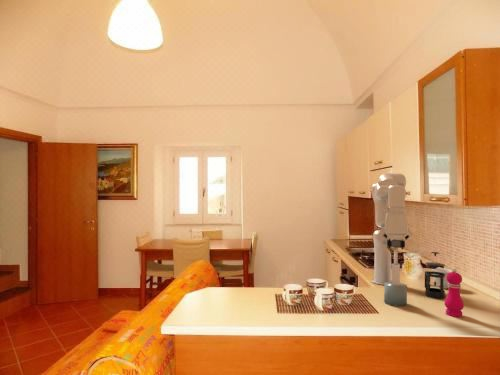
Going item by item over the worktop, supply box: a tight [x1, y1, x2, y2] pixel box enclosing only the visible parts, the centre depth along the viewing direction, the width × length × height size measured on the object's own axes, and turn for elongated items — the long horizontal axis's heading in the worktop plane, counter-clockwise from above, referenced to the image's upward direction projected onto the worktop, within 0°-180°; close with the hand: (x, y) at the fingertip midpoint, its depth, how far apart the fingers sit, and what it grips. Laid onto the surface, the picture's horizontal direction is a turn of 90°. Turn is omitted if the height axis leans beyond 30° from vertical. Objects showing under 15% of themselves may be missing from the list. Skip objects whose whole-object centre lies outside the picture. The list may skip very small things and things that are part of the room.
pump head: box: [390, 239, 402, 265], centre depth 167 cm, size 8×5×12 cm, turn 157°
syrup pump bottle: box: [383, 263, 408, 307], centre depth 165 cm, size 10×10×18 cm
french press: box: [424, 251, 446, 300], centre depth 180 cm, size 12×9×23 cm
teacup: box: [430, 267, 452, 290], centre depth 200 cm, size 12×15×10 cm
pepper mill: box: [444, 268, 465, 318], centre depth 150 cm, size 7×7×20 cm
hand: (395, 248), depth 166 cm, fingers open, 5 cm apart
